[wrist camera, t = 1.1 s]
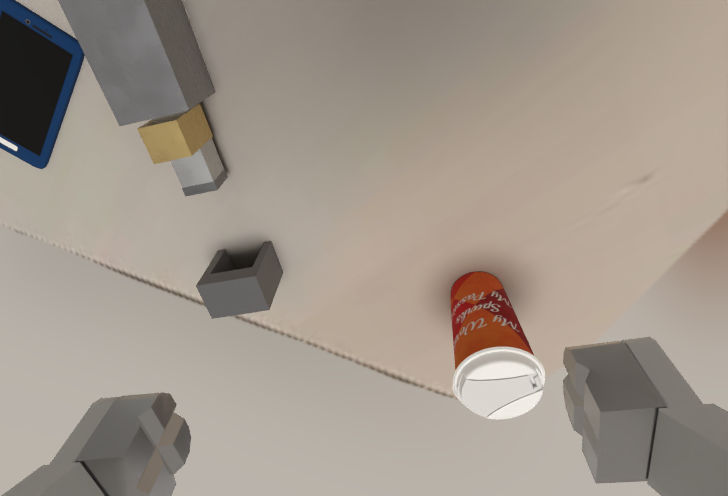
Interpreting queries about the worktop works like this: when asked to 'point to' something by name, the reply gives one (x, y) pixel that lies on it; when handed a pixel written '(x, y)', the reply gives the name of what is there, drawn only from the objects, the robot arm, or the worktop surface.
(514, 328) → the paper cup
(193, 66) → the sleeve
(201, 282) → the socket
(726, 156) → the worktop surface
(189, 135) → the gold-banded square post
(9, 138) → the cell phone
